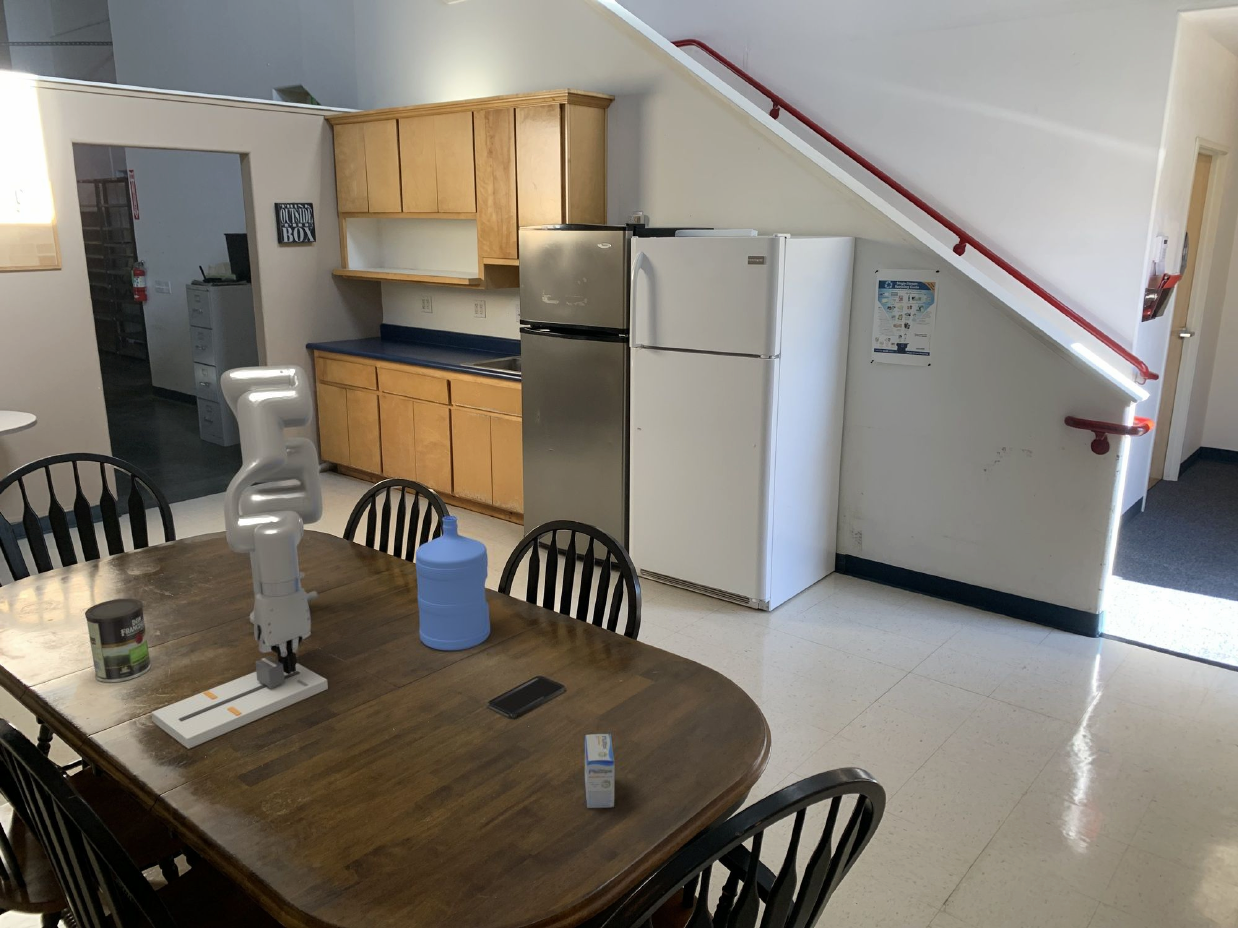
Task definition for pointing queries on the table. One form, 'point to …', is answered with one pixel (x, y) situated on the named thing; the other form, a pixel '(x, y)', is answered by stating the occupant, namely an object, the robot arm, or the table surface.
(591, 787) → the medicine box
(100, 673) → the coffee can
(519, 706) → the phone
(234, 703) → the fader board
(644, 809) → the table surface
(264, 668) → the fader knob
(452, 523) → the water jug
